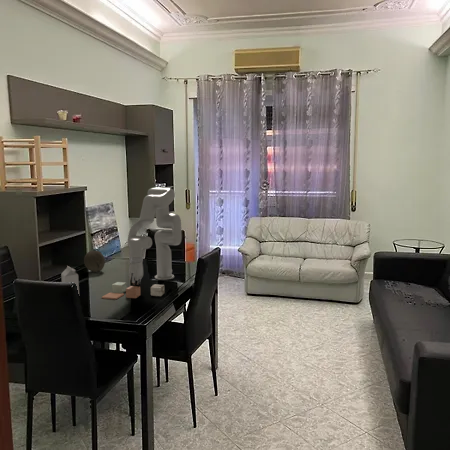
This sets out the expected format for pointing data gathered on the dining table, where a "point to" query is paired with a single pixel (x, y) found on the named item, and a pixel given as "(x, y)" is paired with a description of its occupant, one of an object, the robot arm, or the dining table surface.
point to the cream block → (157, 290)
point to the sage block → (119, 287)
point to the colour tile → (113, 295)
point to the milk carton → (70, 276)
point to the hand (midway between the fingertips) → (137, 290)
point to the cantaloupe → (94, 261)
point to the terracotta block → (132, 292)
